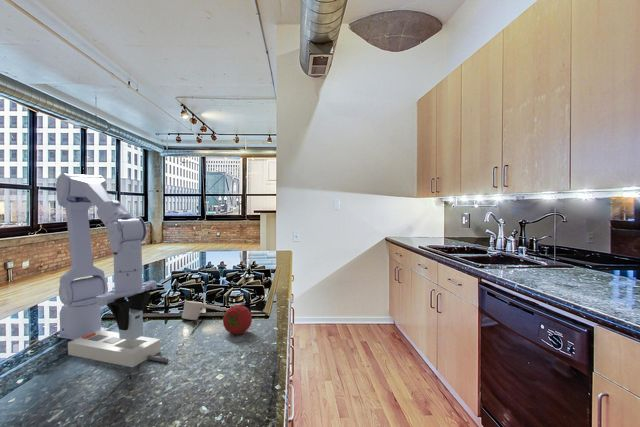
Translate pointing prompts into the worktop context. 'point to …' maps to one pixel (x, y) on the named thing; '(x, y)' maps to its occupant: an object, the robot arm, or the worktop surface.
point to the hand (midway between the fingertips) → (130, 326)
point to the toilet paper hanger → (197, 309)
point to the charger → (133, 326)
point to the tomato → (237, 319)
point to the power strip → (115, 348)
